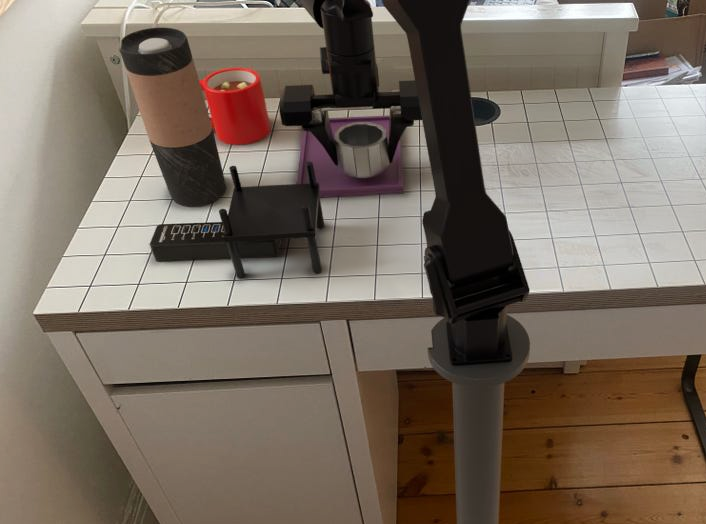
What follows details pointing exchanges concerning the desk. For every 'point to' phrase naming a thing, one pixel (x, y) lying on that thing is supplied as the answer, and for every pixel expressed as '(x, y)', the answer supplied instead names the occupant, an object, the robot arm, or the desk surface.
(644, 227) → the desk surface
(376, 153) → the bowl
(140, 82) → the travel mug
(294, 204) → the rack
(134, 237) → the desk surface
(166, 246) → the multiport hub
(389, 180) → the purple tray
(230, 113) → the mug
